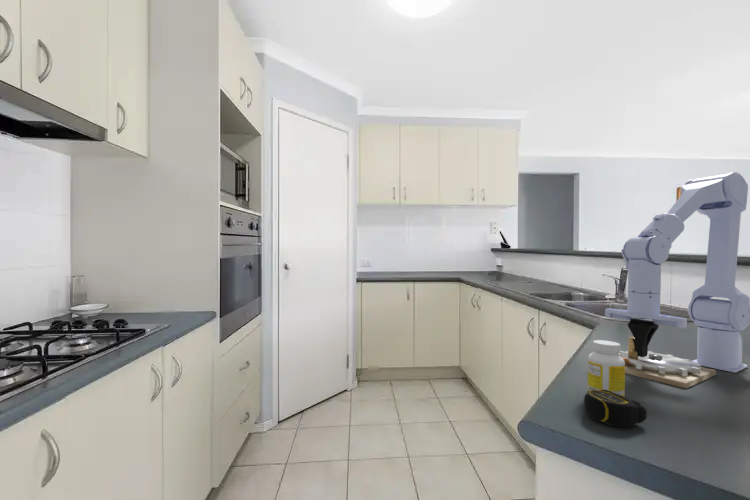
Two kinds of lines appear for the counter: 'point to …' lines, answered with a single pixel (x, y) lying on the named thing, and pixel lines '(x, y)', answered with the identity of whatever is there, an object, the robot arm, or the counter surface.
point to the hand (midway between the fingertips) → (642, 356)
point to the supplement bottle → (606, 368)
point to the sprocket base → (672, 376)
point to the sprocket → (658, 361)
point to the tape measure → (613, 408)
